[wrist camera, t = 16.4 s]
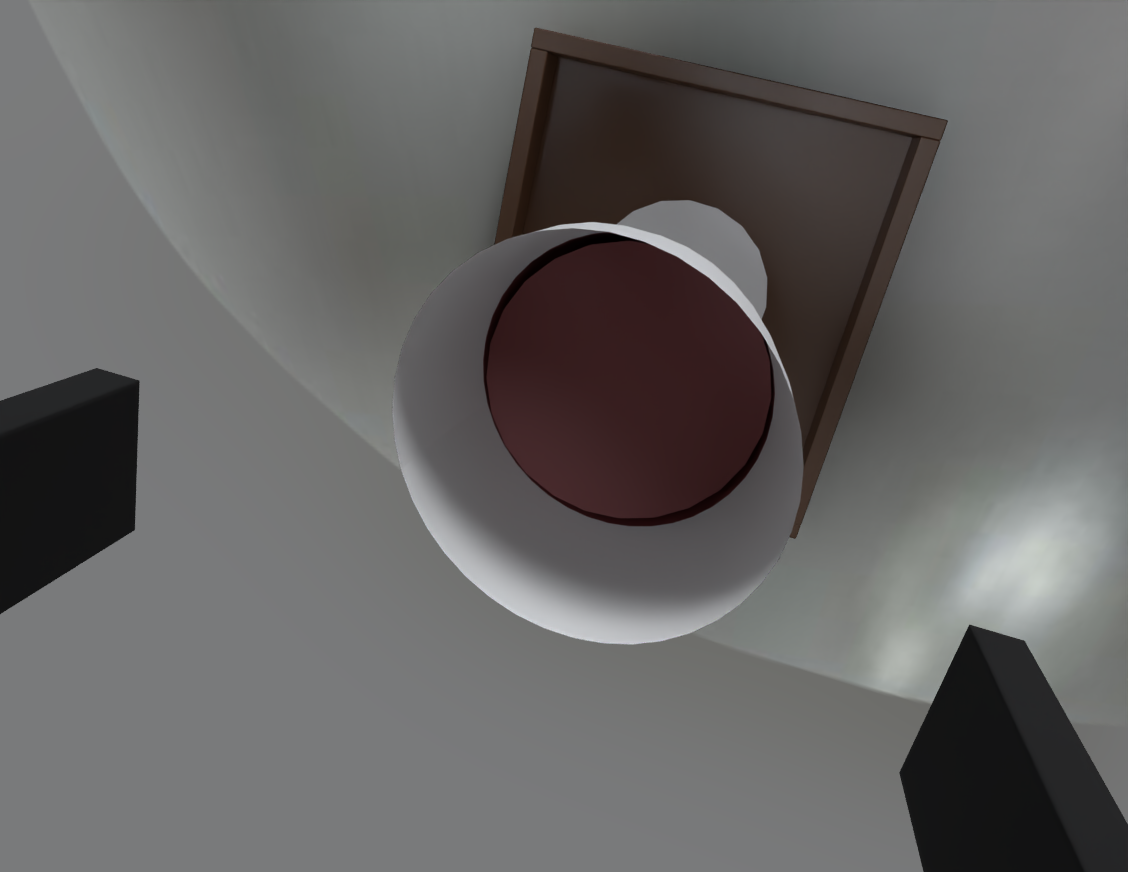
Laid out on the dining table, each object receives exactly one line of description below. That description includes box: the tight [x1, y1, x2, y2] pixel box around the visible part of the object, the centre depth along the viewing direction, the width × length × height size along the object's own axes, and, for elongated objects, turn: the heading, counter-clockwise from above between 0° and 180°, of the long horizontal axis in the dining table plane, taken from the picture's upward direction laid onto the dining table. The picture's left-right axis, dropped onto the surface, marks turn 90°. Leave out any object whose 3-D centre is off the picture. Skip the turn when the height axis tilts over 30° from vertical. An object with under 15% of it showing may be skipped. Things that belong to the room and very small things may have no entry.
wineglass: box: [392, 200, 804, 644], centre depth 29 cm, size 9×10×23 cm
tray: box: [494, 28, 947, 539], centre depth 39 cm, size 20×18×3 cm
